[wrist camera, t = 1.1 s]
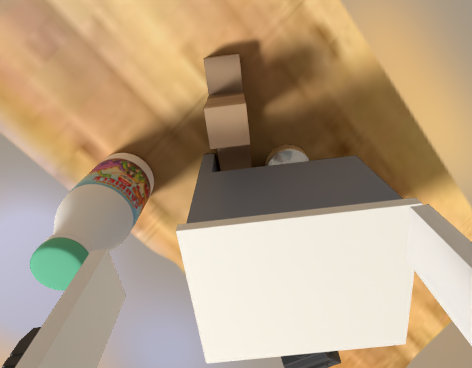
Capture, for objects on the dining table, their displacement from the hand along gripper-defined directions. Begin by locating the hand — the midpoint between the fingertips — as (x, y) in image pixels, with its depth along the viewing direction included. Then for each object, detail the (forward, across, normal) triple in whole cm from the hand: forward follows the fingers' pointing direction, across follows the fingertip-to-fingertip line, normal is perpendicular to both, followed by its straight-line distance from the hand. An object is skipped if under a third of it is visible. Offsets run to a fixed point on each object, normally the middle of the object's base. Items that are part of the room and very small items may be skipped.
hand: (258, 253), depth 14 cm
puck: (+30, +5, -9) cm, 32 cm away
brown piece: (+30, -2, -4) cm, 30 cm away
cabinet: (+30, +3, -12) cm, 32 cm away
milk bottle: (+30, -17, -7) cm, 35 cm away
